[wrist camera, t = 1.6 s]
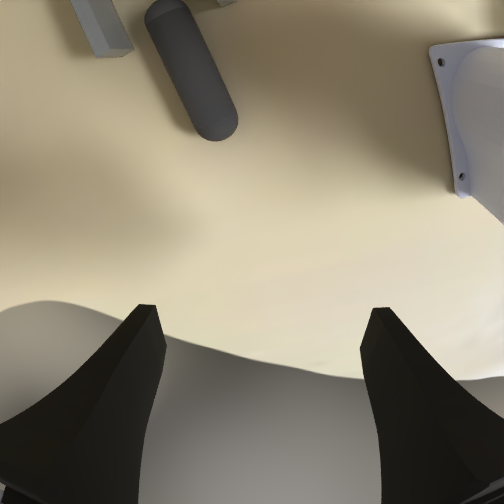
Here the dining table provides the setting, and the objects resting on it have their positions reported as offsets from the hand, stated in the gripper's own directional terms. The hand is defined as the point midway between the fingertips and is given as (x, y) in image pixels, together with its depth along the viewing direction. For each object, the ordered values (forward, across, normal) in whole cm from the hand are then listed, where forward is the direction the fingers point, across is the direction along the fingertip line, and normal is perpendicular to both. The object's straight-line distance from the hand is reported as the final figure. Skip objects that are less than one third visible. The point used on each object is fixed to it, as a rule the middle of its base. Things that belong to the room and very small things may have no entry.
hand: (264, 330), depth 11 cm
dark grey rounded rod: (+10, +4, -8) cm, 13 cm away
